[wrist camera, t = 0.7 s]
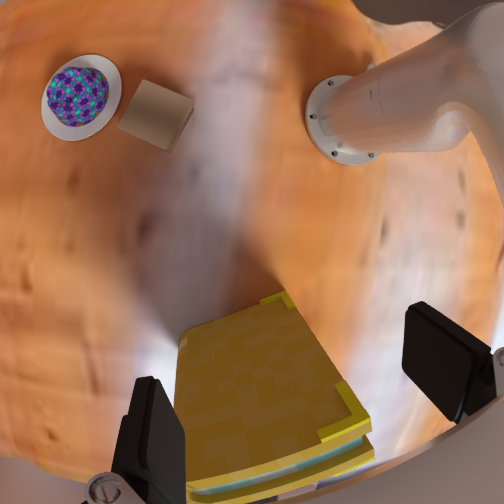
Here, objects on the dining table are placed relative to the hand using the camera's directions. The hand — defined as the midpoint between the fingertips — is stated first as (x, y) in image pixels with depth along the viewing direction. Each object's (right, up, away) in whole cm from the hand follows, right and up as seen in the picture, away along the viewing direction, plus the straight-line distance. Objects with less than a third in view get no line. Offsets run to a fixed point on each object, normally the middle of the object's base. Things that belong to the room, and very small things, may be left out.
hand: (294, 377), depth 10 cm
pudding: (-24, +24, +21) cm, 40 cm away
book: (-4, -7, +33) cm, 34 cm away
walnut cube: (-13, +20, +24) cm, 34 cm away
